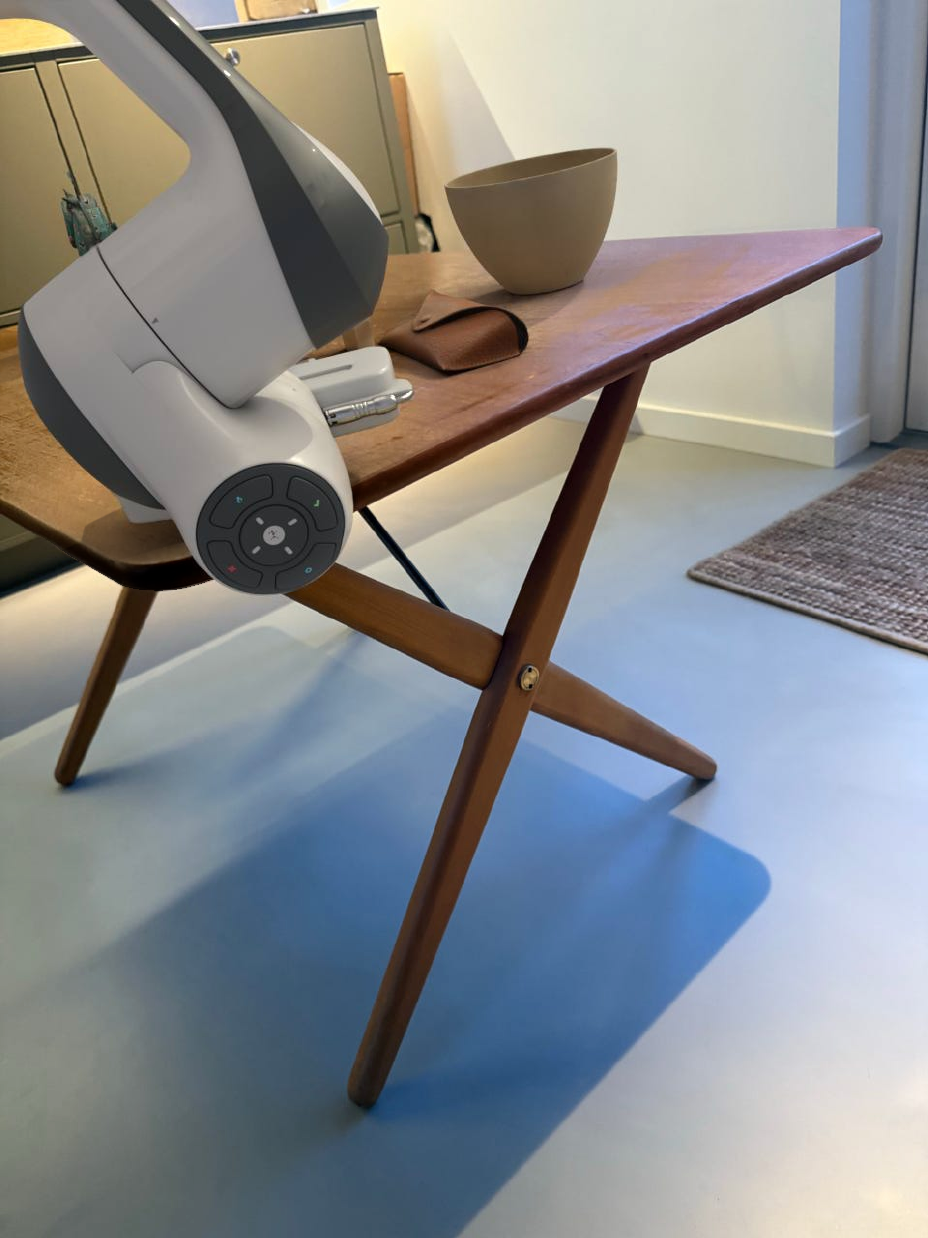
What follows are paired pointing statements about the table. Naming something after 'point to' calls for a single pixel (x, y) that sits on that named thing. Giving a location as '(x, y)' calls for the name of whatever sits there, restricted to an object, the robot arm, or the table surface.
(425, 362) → the sunglasses case
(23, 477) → the table surface
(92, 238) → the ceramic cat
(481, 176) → the flower pot
